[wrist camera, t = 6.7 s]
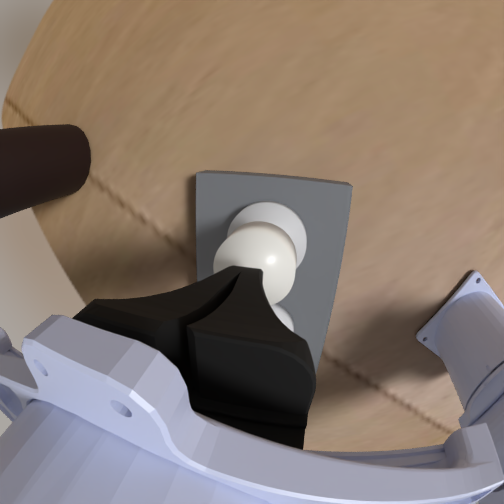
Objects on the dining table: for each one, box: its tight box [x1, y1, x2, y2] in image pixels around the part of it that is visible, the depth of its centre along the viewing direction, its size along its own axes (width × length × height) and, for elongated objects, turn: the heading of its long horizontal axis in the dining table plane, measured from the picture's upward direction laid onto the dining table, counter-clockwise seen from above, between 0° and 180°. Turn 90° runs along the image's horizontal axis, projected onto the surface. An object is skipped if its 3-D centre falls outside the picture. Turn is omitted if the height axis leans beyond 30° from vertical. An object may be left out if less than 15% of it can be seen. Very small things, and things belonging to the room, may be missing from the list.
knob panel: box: [196, 170, 353, 373], centre depth 21 cm, size 22×10×3 cm, turn 177°
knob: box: [213, 221, 297, 306], centre depth 14 cm, size 4×4×2 cm
